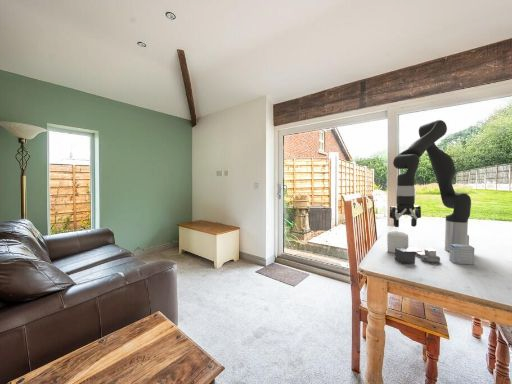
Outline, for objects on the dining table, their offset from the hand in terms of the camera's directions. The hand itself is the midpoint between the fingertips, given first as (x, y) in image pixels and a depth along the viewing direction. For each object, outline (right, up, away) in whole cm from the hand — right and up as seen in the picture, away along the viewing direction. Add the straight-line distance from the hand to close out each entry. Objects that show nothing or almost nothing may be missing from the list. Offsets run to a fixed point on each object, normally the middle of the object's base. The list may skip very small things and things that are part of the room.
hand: (404, 226), depth 109 cm
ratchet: (+14, -17, +6) cm, 23 cm away
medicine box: (+27, -18, -2) cm, 32 cm away
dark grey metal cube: (+1, -18, +1) cm, 18 cm away
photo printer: (+5, -17, +14) cm, 23 cm away
